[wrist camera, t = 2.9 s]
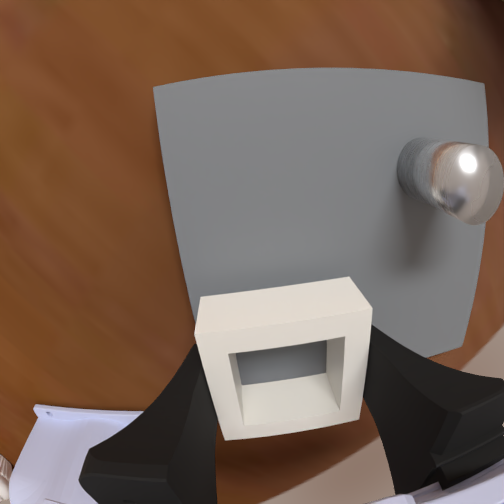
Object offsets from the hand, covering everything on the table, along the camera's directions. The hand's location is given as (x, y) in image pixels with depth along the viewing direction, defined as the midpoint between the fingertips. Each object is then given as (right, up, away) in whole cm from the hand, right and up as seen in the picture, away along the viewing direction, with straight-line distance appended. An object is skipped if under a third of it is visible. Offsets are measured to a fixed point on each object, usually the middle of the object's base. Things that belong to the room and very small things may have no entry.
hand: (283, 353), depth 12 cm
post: (+6, +7, -1) cm, 9 cm away
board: (+3, +5, +1) cm, 6 cm away
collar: (0, 0, 0) cm, 0 cm away
